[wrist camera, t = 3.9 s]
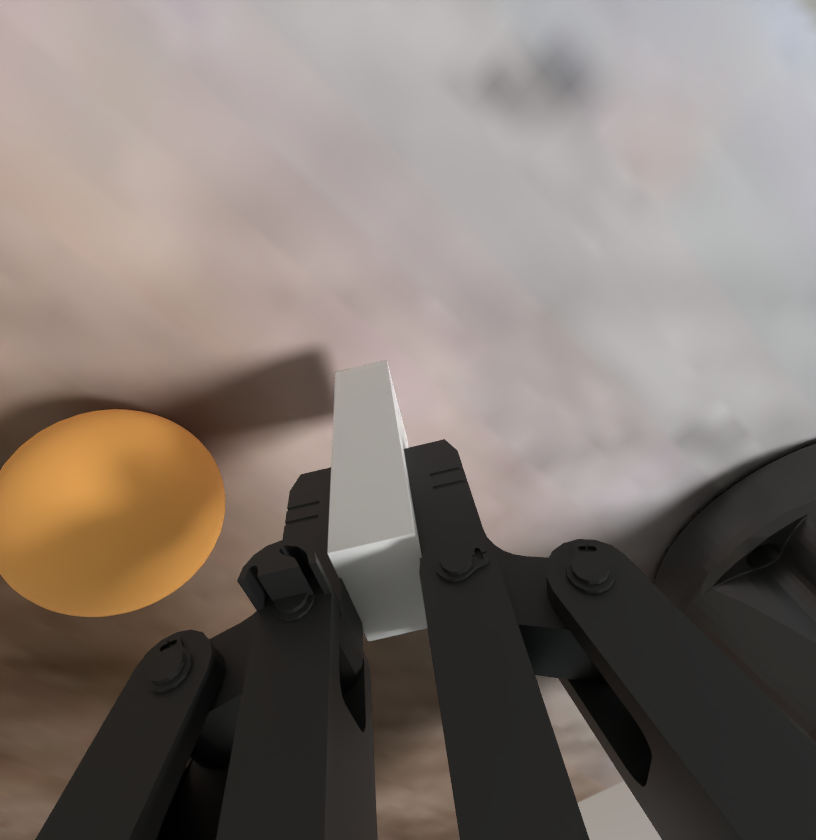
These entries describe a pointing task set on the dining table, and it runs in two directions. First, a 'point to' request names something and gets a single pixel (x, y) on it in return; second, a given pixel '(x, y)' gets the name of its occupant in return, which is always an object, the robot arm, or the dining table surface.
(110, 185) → the dining table surface
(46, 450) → the ball
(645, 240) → the dining table surface
